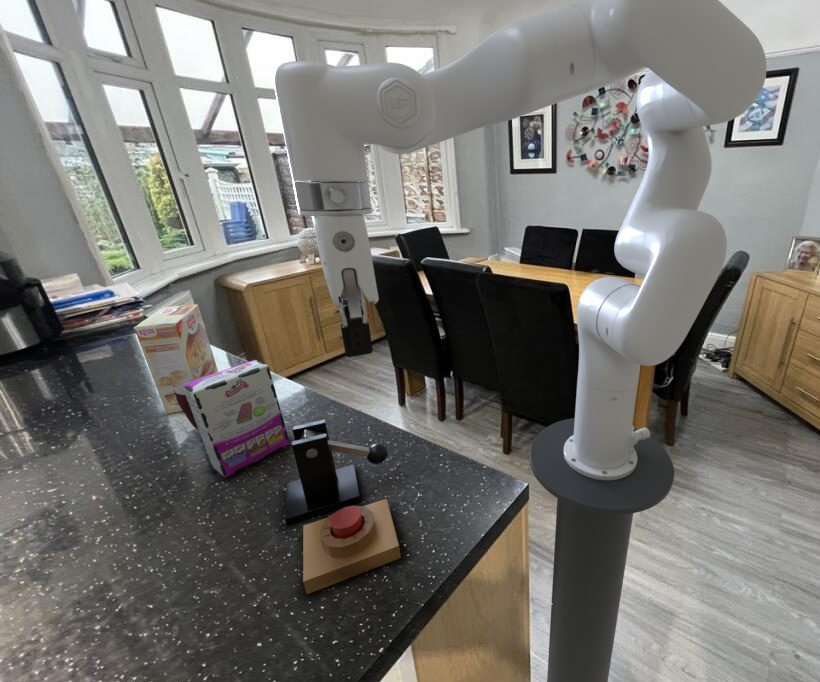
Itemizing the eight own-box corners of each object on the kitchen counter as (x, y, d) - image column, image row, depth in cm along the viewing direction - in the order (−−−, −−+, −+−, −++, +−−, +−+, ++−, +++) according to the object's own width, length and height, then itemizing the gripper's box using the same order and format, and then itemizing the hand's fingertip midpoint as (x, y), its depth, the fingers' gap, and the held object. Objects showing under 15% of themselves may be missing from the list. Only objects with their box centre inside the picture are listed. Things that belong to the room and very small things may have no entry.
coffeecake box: (205, 408, 85) (176, 323, 77) (164, 415, 82) (130, 327, 75) (222, 378, 98) (199, 303, 90) (187, 383, 95) (160, 306, 88)
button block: (388, 510, 58) (385, 488, 57) (400, 558, 51) (397, 535, 49) (306, 537, 54) (300, 515, 52) (306, 594, 46) (299, 570, 45)
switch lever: (380, 458, 65) (388, 441, 65) (384, 469, 62) (392, 452, 62) (297, 443, 58) (305, 425, 58) (296, 456, 55) (305, 436, 55)
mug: (211, 413, 83) (197, 370, 79) (252, 409, 84) (240, 367, 80) (181, 443, 73) (163, 396, 69) (228, 439, 74) (213, 393, 71)
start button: (360, 512, 53) (359, 502, 53) (364, 532, 50) (362, 522, 50) (332, 522, 52) (329, 512, 51) (334, 543, 49) (331, 532, 48)
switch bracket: (355, 470, 66) (343, 410, 62) (360, 502, 60) (348, 437, 55) (288, 488, 62) (271, 426, 58) (286, 525, 56) (267, 457, 51)
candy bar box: (276, 435, 75) (255, 358, 69) (291, 444, 73) (270, 364, 67) (210, 468, 67) (179, 383, 61) (224, 479, 64) (193, 391, 58)
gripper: (381, 202, 38) (401, 370, 45) (362, 197, 51) (380, 330, 58) (295, 204, 35) (330, 384, 42) (297, 198, 48) (324, 338, 55)
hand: (359, 352), depth 50 cm, fingers closed
